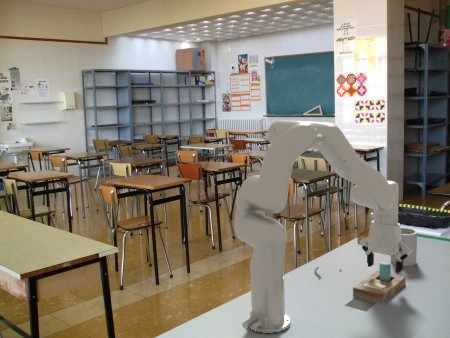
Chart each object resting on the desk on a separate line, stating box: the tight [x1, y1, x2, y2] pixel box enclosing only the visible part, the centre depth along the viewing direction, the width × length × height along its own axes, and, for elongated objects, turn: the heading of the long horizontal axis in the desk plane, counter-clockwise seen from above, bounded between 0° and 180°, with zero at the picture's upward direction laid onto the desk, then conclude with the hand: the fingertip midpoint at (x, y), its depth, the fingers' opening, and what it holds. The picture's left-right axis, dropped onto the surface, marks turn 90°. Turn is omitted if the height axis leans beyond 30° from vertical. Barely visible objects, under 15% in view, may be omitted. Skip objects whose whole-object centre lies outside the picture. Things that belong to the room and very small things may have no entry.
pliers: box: [314, 266, 342, 281], centre depth 177 cm, size 10×1×20 cm
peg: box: [378, 261, 392, 282], centre depth 167 cm, size 4×4×8 cm
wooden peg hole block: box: [352, 270, 407, 303], centre depth 165 cm, size 18×10×3 cm, turn 139°
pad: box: [344, 296, 377, 312], centre depth 155 cm, size 7×7×1 cm
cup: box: [390, 227, 418, 267], centre depth 189 cm, size 9×9×12 cm
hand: (384, 268), depth 167 cm, fingers open, 9 cm apart
